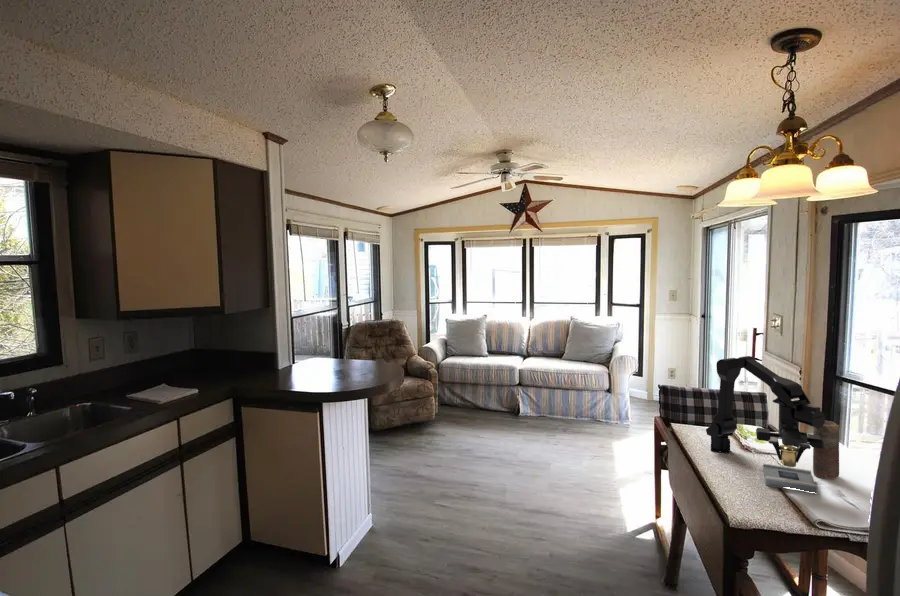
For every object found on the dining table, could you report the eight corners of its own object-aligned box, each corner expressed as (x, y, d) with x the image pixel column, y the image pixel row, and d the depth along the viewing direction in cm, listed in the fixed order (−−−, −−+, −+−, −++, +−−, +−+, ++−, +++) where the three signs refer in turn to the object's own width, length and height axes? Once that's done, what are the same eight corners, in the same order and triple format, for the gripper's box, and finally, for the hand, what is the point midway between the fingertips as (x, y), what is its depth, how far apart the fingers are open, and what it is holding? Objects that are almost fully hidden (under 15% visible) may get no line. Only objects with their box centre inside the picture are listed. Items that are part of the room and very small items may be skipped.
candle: (814, 468, 168) (814, 416, 166) (840, 474, 163) (841, 421, 161) (811, 476, 163) (811, 422, 161) (837, 482, 157) (838, 427, 156)
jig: (765, 485, 158) (765, 477, 158) (763, 471, 168) (763, 463, 168) (816, 494, 151) (816, 485, 151) (810, 478, 161) (810, 470, 161)
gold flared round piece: (779, 465, 158) (780, 449, 158) (778, 459, 163) (778, 443, 162) (798, 468, 156) (798, 452, 155) (796, 462, 160) (796, 446, 160)
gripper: (758, 422, 156) (757, 465, 157) (827, 430, 146) (826, 476, 147) (756, 411, 165) (755, 452, 167) (821, 418, 156) (820, 462, 157)
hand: (788, 460), depth 159 cm, fingers closed on gold flared round piece, 4 cm apart
